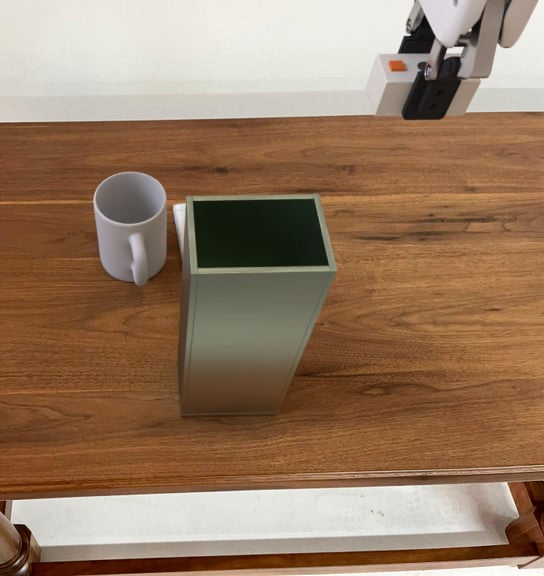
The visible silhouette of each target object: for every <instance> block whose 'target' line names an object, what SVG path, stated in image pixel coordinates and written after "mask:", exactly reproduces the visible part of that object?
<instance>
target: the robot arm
mask: <svg viewBox="0 0 544 576" xmlns="http://www.w3.org/2000/svg"><path fill="white" fill-rule="evenodd" d="M538 3H539V0H414V1H413V6H412V8H411V10H410V12H409V14H408V17H407V19H406V23H405V28H404V29H405V30H404V31H405V33H406V34H407V35H403V37H402V40H401V43H400V45H399V48H398V50H397V53H396V54H430V55H429V58H428V61H427V64H426V67H425V71H418V73H417V75H416V78H415V80H414V83H413V85H412V88H411V90H410V93H409V95H408V98H407V100H406V102H405V105H404V107H403V110H402V116H401V117H402V119H403V120H405V121H440V120H443V119H444V118H445V117H446V116H445V115H446V113H447V111H448V109H449V107H450V105H451V103H452V100H453V98H454V96H455V94H456V92H457V90H458V88H459V86H460V84H461V82H462V80H467V79H471V78H480V79H488V78H489V77H490V75H491V74H492V69H493V65H494V60H495V56H496V51H497V46H499V47H500V48H502V49H511V48H513V47H514V46H515V45H516V44H517V42H518V41H519V39H520V37H521V36H522V34H523V32H524V31H525V29H526V27H527V25H528V23H529V21H530V19H531V17H532V15H533V13H534V11H535V9H536V7H537V5H538ZM453 48H463V49H462V50H461V53H462V54H461V56H451V57H449V58H446V59H444V57H445V54H446V53H447V52H448V49H453Z"/></svg>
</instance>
